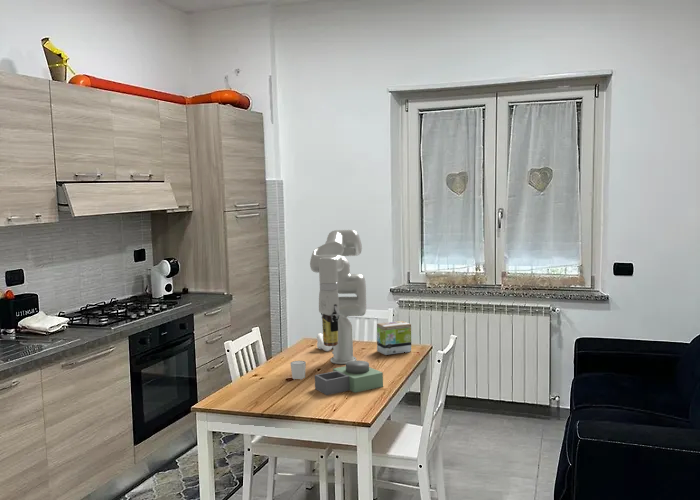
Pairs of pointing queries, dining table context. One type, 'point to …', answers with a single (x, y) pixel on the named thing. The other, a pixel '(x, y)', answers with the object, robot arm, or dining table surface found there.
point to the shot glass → (298, 369)
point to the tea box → (393, 337)
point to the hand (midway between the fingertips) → (330, 329)
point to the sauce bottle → (329, 332)
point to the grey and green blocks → (349, 378)
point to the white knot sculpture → (322, 343)
